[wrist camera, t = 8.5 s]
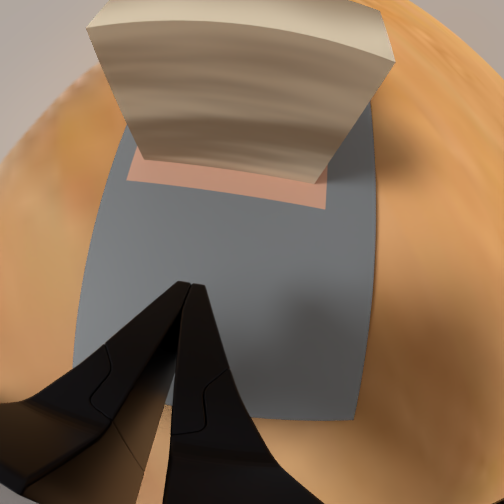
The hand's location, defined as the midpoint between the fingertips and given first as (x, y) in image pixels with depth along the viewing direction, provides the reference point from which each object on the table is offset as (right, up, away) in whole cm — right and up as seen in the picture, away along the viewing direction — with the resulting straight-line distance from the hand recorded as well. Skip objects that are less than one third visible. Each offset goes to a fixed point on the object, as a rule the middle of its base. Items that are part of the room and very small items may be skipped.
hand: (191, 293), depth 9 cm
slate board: (+1, +5, +8) cm, 9 cm away
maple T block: (+1, +10, +9) cm, 13 cm away
